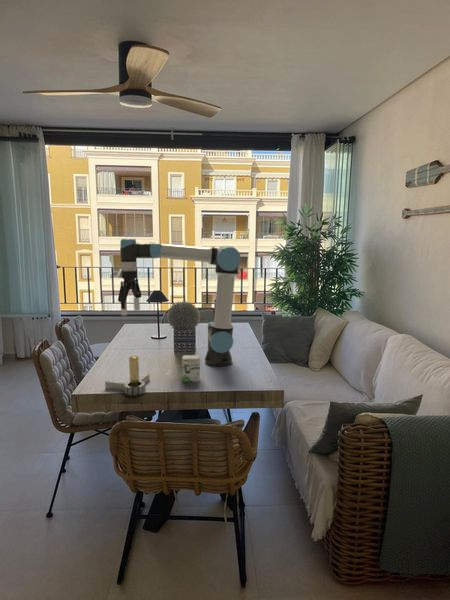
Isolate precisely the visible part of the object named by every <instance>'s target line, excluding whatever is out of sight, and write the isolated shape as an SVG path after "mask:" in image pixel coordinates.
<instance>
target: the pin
mask: <svg viewBox="0 0 450 600" xmlns="http://www.w3.org/2000/svg"><path fill="white" fill-rule="evenodd" d="M128 364H129V381H130V386H131V387H135V386H139V380H140V371H139V370H140V369H139V368H140V367H139V365H140V364H139V356H136V355H132V356H129V357H128Z"/></svg>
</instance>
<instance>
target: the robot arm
mask: <svg viewBox="0 0 450 600" xmlns="http://www.w3.org/2000/svg"><path fill="white" fill-rule="evenodd" d="M119 243H120V248H119V249H120V267H121V270H122V271H121V274H120V275H121V279H123V281H120V288H119V293H118V297H117V298H118V299H117V301H118V302H119V303H120V312H121V313H120V315H121V316H127V315H128V305H127V304H128V302H127V299H128V296H129V292H130V291H131V292H132V295H133V296H134V297H133V310H134V311H140V298H142V291H141V287H140V284H139V279H138V265H137V264H138V260H137V259H171V260H179V261H180V260H182V261H190V262H191V261H193V262H201V263H202V262H203V263H208V264H209V265H212V266H215V268H214V269H215V271H214V272H215V274H216V275H217V284H216V295H215V307H214V319H213V320H214V321H209V322H208V323H207V327H206V328H207V351H206V353H205V358H204V363H205V364H206V365H208V366H211V367H225V366H229V365H231V364H232V362H233V357H232V354H231V349H232V347H233V344H234V338H233V337H234V336H233V333H234V332H233V331H234V325H233V324H232V310H233V303H234V302H233V301H234V289H235V278H236V276H238V274H239V267H240V264H241V261H242V258H241V254H240V251H239V250H238V249H237V248H236V247H233V246H231V245H230V246H229V245H222V246H210V247H201V246H191V245H190V246H189V245H182V244H181V245H180V244H170V243H168V244H167V243H160V242H154V241H153V242H137V240H136V238H122V239H120V242H119Z"/></svg>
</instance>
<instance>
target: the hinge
mask: <svg viewBox="0 0 450 600" xmlns="http://www.w3.org/2000/svg"><path fill="white" fill-rule="evenodd" d="M149 381H151V380H150V373H146V374H145V375H144V376H142V377H141V378H139V386H135V387H131V386H130V380H128V381H127V382H121V381H120V382H119V381H110V380H106V381H104V387H105V390H112V391H114V390H115V391H121V392H123V393H124V395H127V396H138V395H139V396H140V395H143V394H145V393H146V390H147V389H146V384H147V383H148V382H149Z"/></svg>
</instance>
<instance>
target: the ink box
mask: <svg viewBox="0 0 450 600" xmlns="http://www.w3.org/2000/svg"><path fill="white" fill-rule="evenodd" d="M181 357H182V358H181V360H182V361H181V363H182V366H181V369H182V370H181V371H182V374H181V375H182V376H181V378H182V379H181V380H182V383H185V382H189V383H190V382H191V381H192V382H200V380H201V379H200V377H201V376H200V375H201V366H200V365H201V361H200V360H201V359H200V355H199V354H198V355H193V354H192V355H191V354H190V355H182V356H181Z"/></svg>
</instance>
